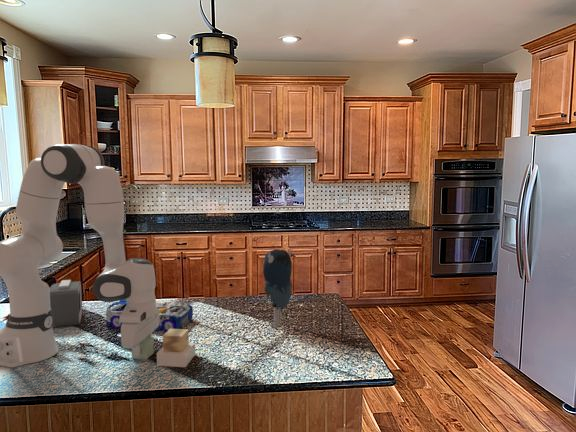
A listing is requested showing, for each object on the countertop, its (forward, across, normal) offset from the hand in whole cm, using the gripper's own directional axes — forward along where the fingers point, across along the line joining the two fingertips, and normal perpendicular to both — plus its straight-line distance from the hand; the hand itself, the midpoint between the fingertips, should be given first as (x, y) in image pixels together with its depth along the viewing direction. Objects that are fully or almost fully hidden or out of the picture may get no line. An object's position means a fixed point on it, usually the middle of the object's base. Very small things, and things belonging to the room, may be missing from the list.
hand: (142, 350), depth 138 cm
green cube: (+2, 0, 0) cm, 2 cm away
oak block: (-2, +2, +12) cm, 12 cm away
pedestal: (+2, +2, +12) cm, 12 cm away
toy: (+2, -31, +40) cm, 51 cm away
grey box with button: (+2, -26, -44) cm, 51 cm away
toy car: (+2, -28, -10) cm, 30 cm away
